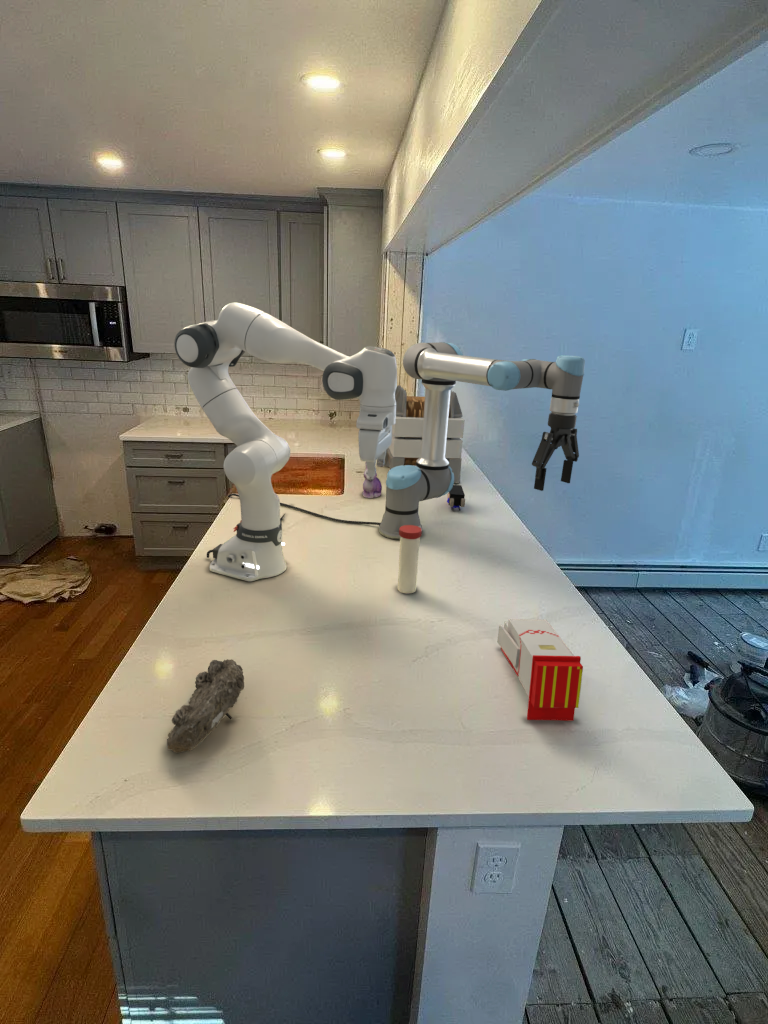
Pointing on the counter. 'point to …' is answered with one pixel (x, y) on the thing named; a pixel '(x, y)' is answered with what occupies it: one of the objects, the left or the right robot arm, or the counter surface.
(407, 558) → the jar
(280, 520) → the feather
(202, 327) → the left robot arm
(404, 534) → the lid
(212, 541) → the counter surface
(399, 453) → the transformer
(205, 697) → the fossil
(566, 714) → the toy
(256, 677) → the counter surface
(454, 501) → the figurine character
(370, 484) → the figurine
